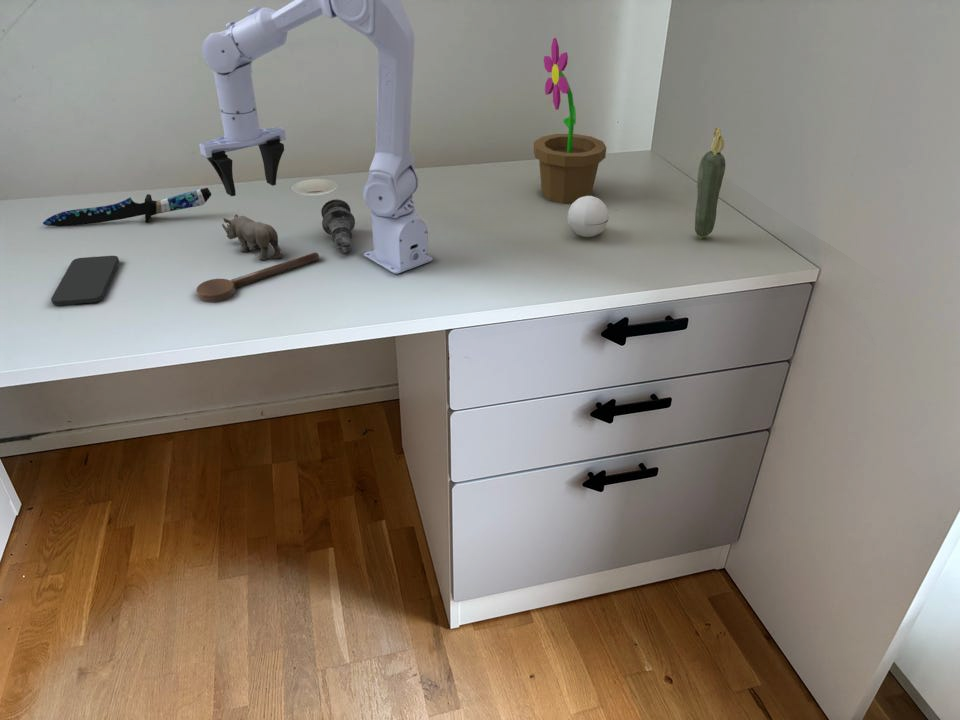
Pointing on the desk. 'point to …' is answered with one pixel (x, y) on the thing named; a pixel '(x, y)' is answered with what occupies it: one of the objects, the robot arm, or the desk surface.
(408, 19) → the robot arm
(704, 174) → the vegetable
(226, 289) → the brown long-handled part
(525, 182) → the desk surface
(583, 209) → the white ball
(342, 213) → the grey weathered turned ornament
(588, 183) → the flowerpot
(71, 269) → the phone
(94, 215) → the knife
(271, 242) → the rhino figurine
